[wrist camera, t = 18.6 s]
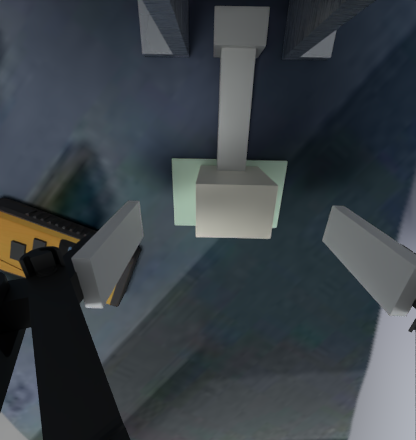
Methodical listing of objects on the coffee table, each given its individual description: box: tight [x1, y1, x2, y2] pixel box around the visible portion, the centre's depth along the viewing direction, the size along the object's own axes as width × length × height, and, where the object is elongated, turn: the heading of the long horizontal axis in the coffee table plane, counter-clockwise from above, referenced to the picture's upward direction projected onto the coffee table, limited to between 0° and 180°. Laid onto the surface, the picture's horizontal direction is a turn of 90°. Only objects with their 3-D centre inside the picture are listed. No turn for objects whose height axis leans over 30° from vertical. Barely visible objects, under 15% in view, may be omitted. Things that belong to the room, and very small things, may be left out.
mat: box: [172, 158, 288, 228], centre depth 22 cm, size 7×11×1 cm, turn 89°
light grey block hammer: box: [196, 6, 278, 239], centre depth 16 cm, size 14×6×7 cm, turn 179°
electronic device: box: [0, 198, 141, 307], centre depth 24 cm, size 8×16×3 cm, turn 66°
